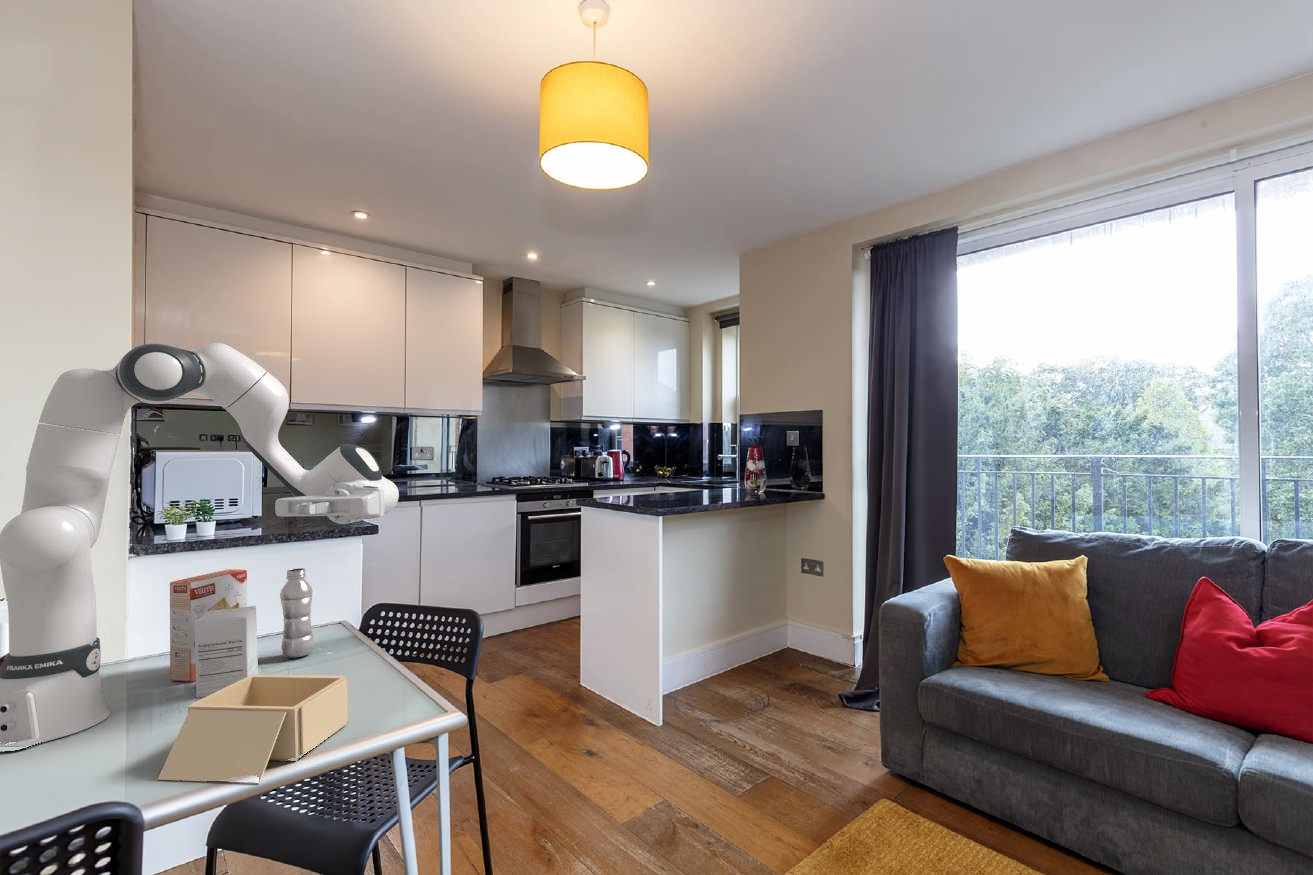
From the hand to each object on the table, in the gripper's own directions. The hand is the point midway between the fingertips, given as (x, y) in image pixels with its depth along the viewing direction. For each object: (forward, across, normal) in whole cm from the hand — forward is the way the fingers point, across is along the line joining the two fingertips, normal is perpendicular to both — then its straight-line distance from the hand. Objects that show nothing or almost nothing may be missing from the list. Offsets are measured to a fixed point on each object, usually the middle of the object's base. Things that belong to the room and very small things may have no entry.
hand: (302, 509), depth 119 cm
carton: (+17, +6, +36) cm, 40 cm away
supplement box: (-4, -20, +36) cm, 42 cm away
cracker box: (-13, -32, +36) cm, 50 cm away
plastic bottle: (-22, -18, +36) cm, 46 cm away
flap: (+24, +6, +28) cm, 37 cm away
